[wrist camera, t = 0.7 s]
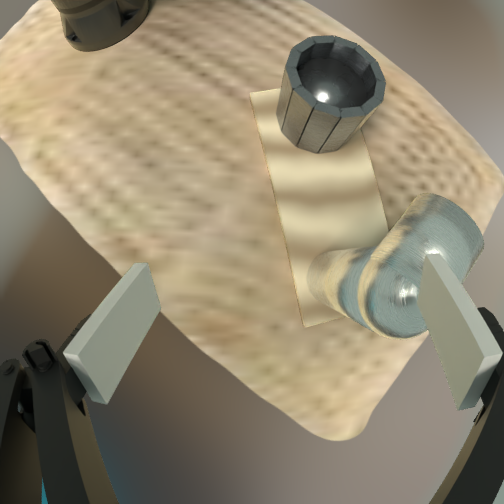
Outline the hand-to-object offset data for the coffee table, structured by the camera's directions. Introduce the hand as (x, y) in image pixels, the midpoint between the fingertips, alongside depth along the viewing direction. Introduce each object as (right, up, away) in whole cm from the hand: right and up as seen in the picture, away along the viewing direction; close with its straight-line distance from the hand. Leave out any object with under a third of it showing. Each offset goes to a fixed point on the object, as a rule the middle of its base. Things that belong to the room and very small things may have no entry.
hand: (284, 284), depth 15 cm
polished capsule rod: (+9, -1, +23) cm, 25 cm away
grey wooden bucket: (+7, +19, +24) cm, 31 cm away
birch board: (+8, +9, +25) cm, 27 cm away
